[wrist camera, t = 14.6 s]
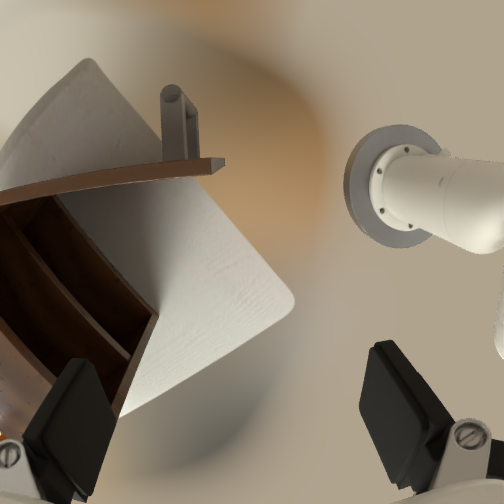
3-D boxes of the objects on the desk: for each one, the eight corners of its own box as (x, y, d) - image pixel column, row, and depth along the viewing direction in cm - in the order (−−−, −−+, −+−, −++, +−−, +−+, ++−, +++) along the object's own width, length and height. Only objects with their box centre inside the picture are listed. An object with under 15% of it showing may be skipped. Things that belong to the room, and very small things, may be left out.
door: (49, 143, 37) (-72, 149, 14) (222, 115, 38) (206, 61, 15) (53, 187, 39) (-66, 222, 16) (225, 165, 40) (211, 175, 17)
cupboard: (50, 187, 39) (-69, 222, 16) (159, 315, 46) (111, 435, 23) (1, 257, 42) (-92, 316, 18) (95, 366, 49) (42, 466, 25)
